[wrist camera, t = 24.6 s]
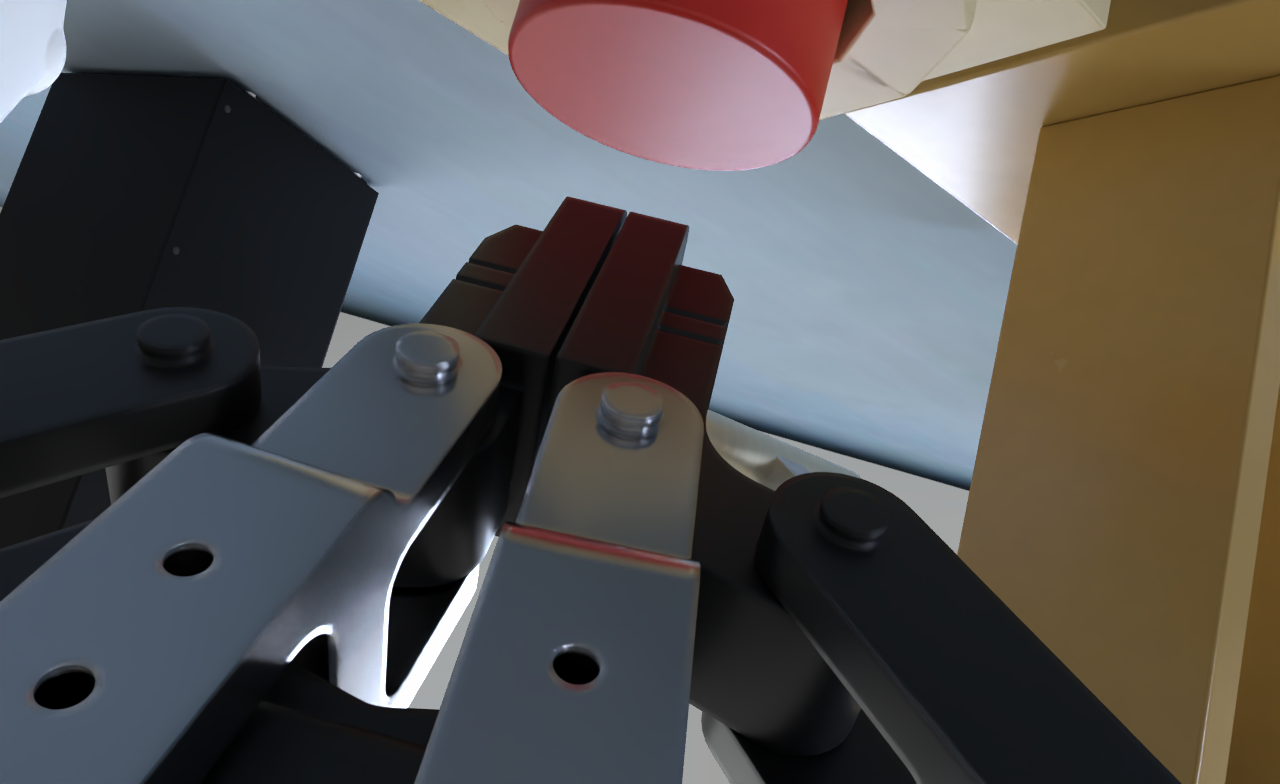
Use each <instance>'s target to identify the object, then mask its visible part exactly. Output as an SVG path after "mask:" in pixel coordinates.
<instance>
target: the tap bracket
mask: <svg viewBox="0 0 1280 784" xmlns="http://www.w3.org/2000/svg"><path fill="white" fill-rule="evenodd" d="M844 114H845V115H846V116H848V117H849V118H850V119H852V120H853V121H854V122H856V123H857V124H858V125H860V126H861V127H862V128H864V129H865V130H866V131H868V132H869V133H870V134H872V135H873V136H874V137H876V138H877V139H878V140H879V141H881V142H882V143H883V144H885V145H886V146H887V147H889V148H890V149H891V150H893V151H894V152H895V153H897V154H898V155H899V156H901V157H902V158H903V159H905V160H906V161H907V162H909V163H910V164H911V165H913V166H914V167H915V168H917V169H918V170H919V171H921V172H922V173H923V174H924V175H926V176H927V177H928V178H930V179H931V180H932V181H934V182H935V183H936V184H938V185H939V186H940V187H942V188H943V189H944V190H946V191H947V192H948V193H950V194H951V195H952V196H954V197H955V198H956V199H958V200H959V201H960V202H962V203H963V204H964V205H966V206H967V207H968V208H970V209H971V210H972V211H973V212H975V213H976V214H977V215H979V216H980V217H981V218H983V219H984V220H985V221H987V222H988V223H989V224H991V225H992V226H993V227H995V228H996V229H997V230H999V231H1000V232H1001V233H1003V234H1004V235H1005V236H1007V237H1008V238H1009V239H1011V240H1012V241H1013V242H1015V243H1016V244H1017V250H1016V255H1015V260H1014V265H1013V270H1012V275H1011V281H1010V286H1009V291H1008V296H1007V301H1006V306H1005V311H1004V317H1003V322H1002V327H1001V332H1000V337H999V342H998V348H997V353H996V358H995V363H994V368H993V373H992V379H991V384H990V389H989V394H988V399H987V404H986V409H985V415H984V420H983V425H982V430H981V435H980V440H979V446H978V451H977V456H976V461H975V466H974V471H973V477H972V482H971V487H970V492H969V497H968V502H967V508H966V513H965V518H964V523H963V529H962V533H961V539H960V544H959V549H958V555H957V556H958V557H959V558H960V559H961V560H962V561H963V562H964V563H965V564H966V565H967V566H968V567H969V568H970V569H971V570H972V571H973V572H974V573H975V574H976V575H977V576H978V577H979V578H980V579H981V580H982V581H983V582H984V583H985V584H986V585H987V586H988V587H989V588H990V589H991V590H992V591H993V592H994V593H995V594H996V595H997V596H998V597H999V598H1000V599H1001V600H1002V601H1003V602H1004V603H1005V604H1006V605H1007V606H1008V607H1009V608H1010V609H1011V610H1012V611H1013V613H1014V614H1015V615H1016V616H1017V617H1018V618H1019V619H1020V620H1021V621H1022V622H1023V623H1024V624H1025V625H1026V626H1027V627H1028V628H1029V629H1030V630H1031V631H1032V632H1033V633H1034V634H1035V635H1036V636H1037V637H1038V638H1039V639H1040V640H1041V641H1042V642H1043V643H1044V644H1045V645H1046V646H1047V647H1048V648H1049V649H1050V650H1051V651H1052V652H1053V653H1054V654H1055V655H1056V656H1057V657H1058V658H1059V659H1060V660H1061V661H1062V662H1063V663H1064V664H1065V665H1066V666H1067V667H1068V668H1069V669H1070V670H1071V672H1072V673H1073V674H1074V675H1075V676H1076V677H1077V678H1078V679H1079V680H1080V681H1081V682H1082V683H1083V684H1084V685H1085V686H1086V687H1087V688H1088V689H1089V690H1090V691H1091V692H1092V693H1093V694H1094V695H1095V696H1096V697H1097V698H1098V699H1099V700H1100V701H1101V702H1102V703H1103V704H1104V705H1105V706H1106V707H1107V708H1108V709H1109V710H1110V711H1111V712H1112V713H1113V714H1114V715H1115V716H1116V717H1117V718H1118V719H1119V720H1120V721H1121V722H1122V723H1123V724H1124V725H1125V726H1126V727H1127V728H1128V729H1129V731H1130V732H1131V733H1132V734H1133V735H1134V736H1135V737H1136V738H1137V739H1138V740H1139V741H1140V742H1141V743H1142V744H1143V745H1144V746H1145V747H1146V748H1147V749H1148V750H1149V751H1150V752H1151V753H1152V754H1153V755H1154V756H1155V757H1156V758H1157V759H1158V760H1159V761H1160V762H1161V763H1162V764H1163V765H1164V766H1165V767H1166V768H1167V769H1168V770H1169V771H1170V772H1171V773H1172V774H1173V775H1174V776H1175V777H1176V778H1177V779H1178V780H1179V781H1180V782H1181V783H1182V784H1280V0H1111V3H1110V8H1109V14H1108V19H1107V25H1106V28H1105V29H1103V30H1100V31H1097V32H1093V33H1090V34H1086V35H1083V36H1079V37H1076V38H1072V39H1069V40H1065V41H1062V42H1058V43H1055V44H1051V45H1048V46H1044V47H1041V48H1037V49H1034V50H1030V51H1027V52H1023V53H1020V54H1016V55H1013V56H1009V57H1006V58H1002V59H999V60H995V61H992V62H988V63H985V64H981V65H978V66H974V67H971V68H967V69H964V70H960V71H956V72H953V73H949V74H946V75H942V76H939V77H935V78H932V79H928V80H925V81H921V83H920V84H919V85H918V86H917V87H916V88H915V89H914V90H913V91H912V92H911V93H910V94H907V95H906V96H905V97H901V98H897V99H894V100H890V101H887V102H883V103H879V104H876V105H872V106H868V107H865V108H861V109H858V110H854V111H850V112H847V113H844Z"/></svg>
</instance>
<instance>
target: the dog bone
mask: <svg viewBox="0 0 1280 784" xmlns="http://www.w3.org/2000/svg"><path fill="white" fill-rule="evenodd" d="M66 2H67V0H0V123H1V121H2V120H3V119H4V118H5V117H6V116H7V115H8V114H9V113H10V112H11V111H12V110H13V108H14V107H15V106H16V105H17V104H18V103H19V102H20V101H21V100H22V99H23V98H24V96H28V95H32V94H36V93H39V92H41V91H43V90H45V89H46V88H48V87H49V86H50V85H51V84H52V83H53V82H54V81H55V80H56V79H57V78H58V76H59V75H60V73H61V71H62V69H63V67H64V64H65V60H66V50H67V48H66V41H65V35H64V30H63V25H64V17H65V10H66Z"/></svg>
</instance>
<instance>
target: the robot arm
mask: <svg viewBox="0 0 1280 784" xmlns="http://www.w3.org/2000/svg"><path fill="white" fill-rule="evenodd" d="M688 232H689V226H688V225H683V224H679V223H675V222H671V221H667V220H663V219H659V218H655V217H651V216H647V215H642V214H638V213H634V212H630V213H629V215H628V217H627V212H626V211H625V210H621V209H617V208H613V207H609V206H605V205H601V204H597V203H593V202H588V201H584V200H580V199H576V198H572V197H566V198H565V200H564V201H563V203H562V204H561V205H560V207H559V208H558V210H557V211H556V213H555V214H554V216H553V217H552V219H551V220H550V222H549V223H548V225H547V226H546V228H545V229H544V231H539V230H535V229H531V228H527V227H523V226H519V225H514V226H511V227H509V228H507V229H505V230H502V231H500V232H498V233H496V234H493V235H491V236H489V237H487V238H485V239H484V240H483V242H482V243H481V244H480V245H479V247H478V248H477V249H476V251H475V252H474V253H473V254H472V256H471V257H470V258H469V263H468V262H466V263H465V265H464V266H463V267H462V269H461V270H460V271H459V272H458V274H457V276H456V280H455V279H453V280H452V281H451V283H450V284H449V285H448V287H447V288H446V289H445V290H444V292H443V293H442V294H441V296H440V297H439V298H438V299H437V301H436V302H435V303H434V305H433V306H432V307H431V308H430V310H429V311H428V312H427V314H426V315H425V316H424V317H423V319H422V320H421V321H420V323H418V324H403V325H396V326H391V327H387V328H384V329H381V330H378V331H375V332H373V333H371V334H369V335H368V336H366V337H364V338H363V339H362V340H361V341H360V342H358V343H357V344H356V345H355V346H354V347H353V348H352V349H351V350H350V351H349V352H348V353H347V354H346V355H345V356H344V357H342V358H341V359H340V360H339V361H338V362H337V363H336V364H335V365H334V366H333V367H332V368H307V367H289V366H270V365H260V349H259V341H258V338H257V336H256V334H255V333H254V331H253V330H252V329H251V328H250V327H249V326H248V325H246V324H245V323H244V322H242V321H240V320H239V319H237V318H235V317H232V316H230V315H228V314H225V313H221V312H218V311H214V310H209V309H203V308H193V307H166V308H157V309H150V310H144V311H140V312H135V313H130V314H125V315H120V316H115V317H110V318H105V319H101V320H96V321H91V322H86V323H81V324H76V325H71V326H66V327H62V328H57V329H52V330H47V331H42V332H37V333H32V334H27V335H23V336H18V337H13V338H8V339H3V340H0V499H1V498H4V497H7V496H11V495H14V494H18V493H21V492H25V491H28V490H32V489H35V488H38V487H42V486H45V485H49V484H52V483H56V482H59V481H63V480H66V479H69V478H73V477H76V476H80V475H83V474H87V473H90V472H93V471H97V470H100V469H104V468H105V469H106V475H107V481H108V488H109V494H110V500H111V506H110V507H108V508H107V509H106V510H105V511H104V512H103V513H102V514H100V515H99V516H98V517H97V518H96V519H93V520H90V521H86V522H83V523H80V524H77V525H74V526H71V527H68V528H64V529H61V530H58V531H55V532H52V533H49V534H46V535H42V536H39V537H36V538H33V539H30V540H27V541H24V542H20V543H17V544H14V545H11V546H8V547H5V548H2V549H0V784H682V777H683V765H684V754H685V743H686V731H687V720H688V709H689V708H688V707H689V703H690V704H692V705H693V706H695V707H696V708H698V709H700V710H701V711H702V731H703V734H704V737H705V741H706V743H707V745H708V747H709V749H710V751H711V753H712V754H713V756H714V758H715V759H716V761H717V762H718V764H719V766H720V767H721V769H722V770H723V772H724V774H725V775H726V777H727V778H728V780H729V782H730V784H1182V783H1181V782H1180V781H1179V780H1178V779H1177V778H1176V777H1175V776H1174V775H1173V774H1172V773H1171V772H1170V771H1169V770H1168V769H1167V768H1166V767H1165V766H1164V765H1163V764H1162V763H1161V762H1160V761H1159V760H1158V759H1157V758H1156V757H1155V756H1154V755H1153V754H1152V753H1151V752H1150V751H1149V750H1148V749H1147V748H1146V747H1145V746H1144V745H1143V744H1142V743H1141V742H1140V741H1139V740H1138V739H1137V738H1136V737H1135V736H1134V735H1133V734H1132V733H1131V732H1130V731H1129V729H1128V728H1127V727H1126V726H1125V725H1124V724H1123V723H1122V722H1121V721H1120V720H1119V719H1118V718H1117V717H1116V716H1115V715H1114V714H1113V713H1112V712H1111V711H1110V710H1109V709H1108V708H1107V707H1106V706H1105V705H1104V704H1103V703H1102V702H1101V701H1100V700H1099V699H1098V698H1097V697H1096V696H1095V695H1094V694H1093V693H1092V692H1091V691H1090V690H1089V689H1088V688H1087V687H1086V686H1085V685H1084V684H1083V683H1082V682H1081V681H1080V680H1079V679H1078V678H1077V677H1076V676H1075V675H1074V674H1073V673H1072V672H1071V670H1070V669H1069V668H1068V667H1067V666H1066V665H1065V664H1064V663H1063V662H1062V661H1061V660H1060V659H1059V658H1058V657H1057V656H1056V655H1055V654H1054V653H1053V652H1052V651H1051V650H1050V649H1049V648H1048V647H1047V646H1046V645H1045V644H1044V643H1043V642H1042V641H1041V640H1040V639H1039V638H1038V637H1037V636H1036V635H1035V634H1034V633H1033V632H1032V631H1031V630H1030V629H1029V628H1028V627H1027V626H1026V625H1025V624H1024V623H1023V622H1022V621H1021V620H1020V619H1019V618H1018V617H1017V616H1016V615H1015V614H1014V613H1013V611H1012V610H1011V609H1010V608H1009V607H1008V606H1007V605H1006V604H1005V603H1004V602H1003V601H1002V600H1001V599H1000V598H999V597H998V596H997V595H996V594H995V593H994V592H993V591H992V590H991V589H990V588H989V587H988V586H987V585H986V584H985V583H984V582H983V581H982V580H981V579H980V578H979V577H978V576H977V575H976V574H975V573H974V572H973V571H972V570H971V569H970V568H969V567H968V566H967V565H966V564H965V563H964V562H963V561H962V560H961V559H960V558H959V557H958V556H957V555H956V554H955V553H954V552H953V550H952V549H951V548H949V546H948V545H947V544H946V543H945V542H944V541H943V540H942V539H941V538H940V537H939V536H938V535H937V534H936V533H935V532H934V531H933V530H932V529H931V528H930V527H929V526H928V525H927V524H926V523H925V522H924V521H923V520H922V519H921V518H920V517H919V516H918V515H917V514H916V513H915V512H914V511H913V510H912V509H911V508H910V507H909V506H908V505H907V504H905V503H904V502H903V501H902V500H901V499H899V498H898V497H896V496H895V495H894V494H892V493H890V492H889V491H887V490H885V489H883V488H882V487H880V486H878V485H876V484H873V483H871V482H869V481H866V480H863V479H860V478H857V477H854V476H850V475H845V474H841V473H833V472H812V473H804V474H801V475H797V476H794V477H792V478H790V479H788V480H786V481H785V482H783V483H782V484H781V485H780V486H779V487H778V488H777V489H776V491H774V490H772V489H770V488H768V487H766V486H764V485H762V484H760V483H758V482H756V481H754V480H752V479H751V478H749V477H747V476H745V475H743V474H742V473H741V472H739V471H738V470H736V469H735V468H734V467H732V466H731V465H730V464H729V463H728V462H727V461H726V460H724V459H723V458H722V456H721V455H720V454H719V453H718V452H717V451H716V449H715V448H714V446H713V445H712V443H711V441H710V439H709V436H708V434H707V430H706V416H707V412H708V408H709V403H710V399H711V395H712V391H713V386H714V382H715V378H716V374H717V370H718V365H719V361H720V357H721V353H722V349H723V344H724V340H725V336H726V332H727V327H728V323H729V319H730V315H731V311H732V306H733V302H734V298H733V296H732V294H731V292H730V291H729V289H728V287H727V285H726V283H725V281H724V279H723V277H722V275H719V274H715V273H711V272H706V271H702V270H698V269H694V268H690V267H686V266H682V261H683V257H684V252H685V247H686V243H687V238H688ZM494 535H495V536H498V537H499V538H498V541H497V544H496V547H495V550H494V553H493V555H492V559H491V561H490V564H489V567H488V570H487V573H486V576H485V579H484V582H483V585H482V588H481V590H480V593H479V596H478V599H477V602H476V605H475V608H474V611H473V614H472V617H471V620H470V622H469V625H468V628H467V631H466V634H465V637H464V640H463V643H462V646H461V649H460V652H459V655H458V657H457V661H456V663H455V666H454V669H453V672H452V675H451V678H450V681H449V684H448V687H447V689H446V692H445V695H444V698H443V701H442V705H441V707H440V710H434V709H414V708H407V707H408V706H409V704H410V702H411V700H412V699H413V697H414V695H415V694H416V692H417V690H418V688H419V687H420V685H421V683H422V682H423V680H424V678H425V676H426V675H427V673H428V671H429V669H430V668H431V666H432V664H433V663H434V661H435V659H436V658H437V655H438V654H439V652H440V651H441V649H442V647H443V645H444V644H445V642H446V640H447V639H448V637H449V635H450V634H451V632H452V630H453V628H454V627H455V625H456V623H457V622H458V620H459V618H460V616H461V615H462V613H463V611H464V610H465V608H466V606H467V604H468V603H469V601H470V599H471V598H472V596H473V594H474V591H475V589H476V585H477V580H478V571H479V564H480V563H481V561H482V560H483V558H484V556H485V555H486V552H487V550H488V548H489V546H490V544H491V542H492V539H493V538H494Z"/></svg>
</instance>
